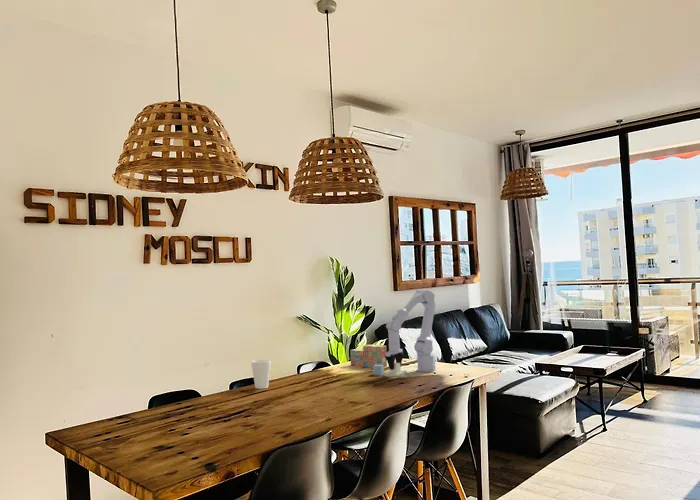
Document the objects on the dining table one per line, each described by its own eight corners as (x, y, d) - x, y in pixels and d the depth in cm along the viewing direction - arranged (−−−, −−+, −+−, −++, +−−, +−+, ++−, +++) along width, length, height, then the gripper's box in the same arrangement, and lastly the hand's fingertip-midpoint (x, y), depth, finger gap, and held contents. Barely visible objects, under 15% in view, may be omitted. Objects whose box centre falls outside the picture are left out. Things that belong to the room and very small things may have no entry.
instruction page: (384, 369, 296) (384, 369, 296) (382, 371, 292) (382, 370, 292) (373, 369, 298) (373, 369, 298) (371, 371, 294) (371, 370, 294)
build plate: (406, 373, 285) (406, 370, 285) (402, 376, 275) (402, 374, 275) (388, 372, 288) (388, 369, 288) (383, 376, 279) (383, 373, 279)
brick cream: (393, 371, 285) (392, 362, 285) (400, 372, 283) (400, 362, 283) (389, 373, 281) (388, 363, 282) (396, 373, 279) (396, 364, 279)
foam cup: (269, 384, 269) (269, 358, 269) (272, 388, 260) (272, 361, 260) (251, 386, 266) (250, 360, 266) (253, 390, 257) (252, 363, 257)
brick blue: (383, 374, 285) (383, 364, 285) (381, 375, 281) (381, 366, 281) (375, 373, 287) (375, 364, 287) (373, 375, 282) (373, 366, 283)
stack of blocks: (350, 366, 314) (349, 345, 314) (356, 364, 319) (355, 343, 319) (382, 368, 302) (381, 346, 303) (387, 366, 307) (386, 345, 308)
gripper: (394, 344, 274) (395, 371, 274) (407, 340, 286) (408, 366, 286) (382, 343, 278) (383, 370, 278) (395, 340, 290) (396, 365, 290)
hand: (395, 368), depth 282 cm, fingers open, 7 cm apart
